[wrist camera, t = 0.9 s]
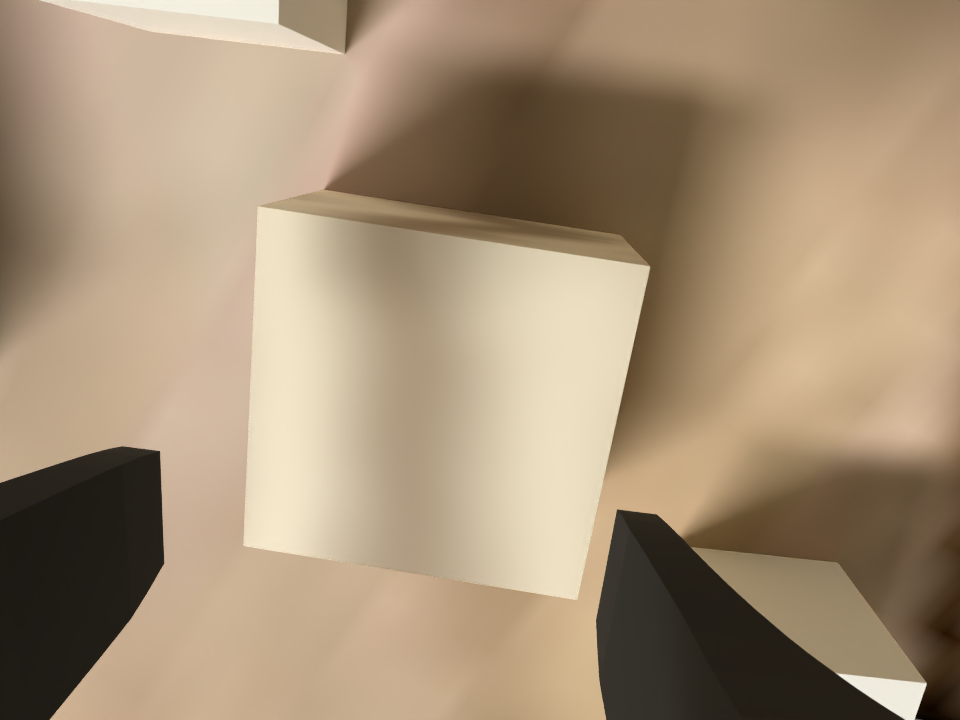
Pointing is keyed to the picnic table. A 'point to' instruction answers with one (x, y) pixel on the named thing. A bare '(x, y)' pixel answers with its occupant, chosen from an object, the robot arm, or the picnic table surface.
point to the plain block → (435, 388)
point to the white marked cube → (825, 621)
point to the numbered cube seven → (232, 19)
